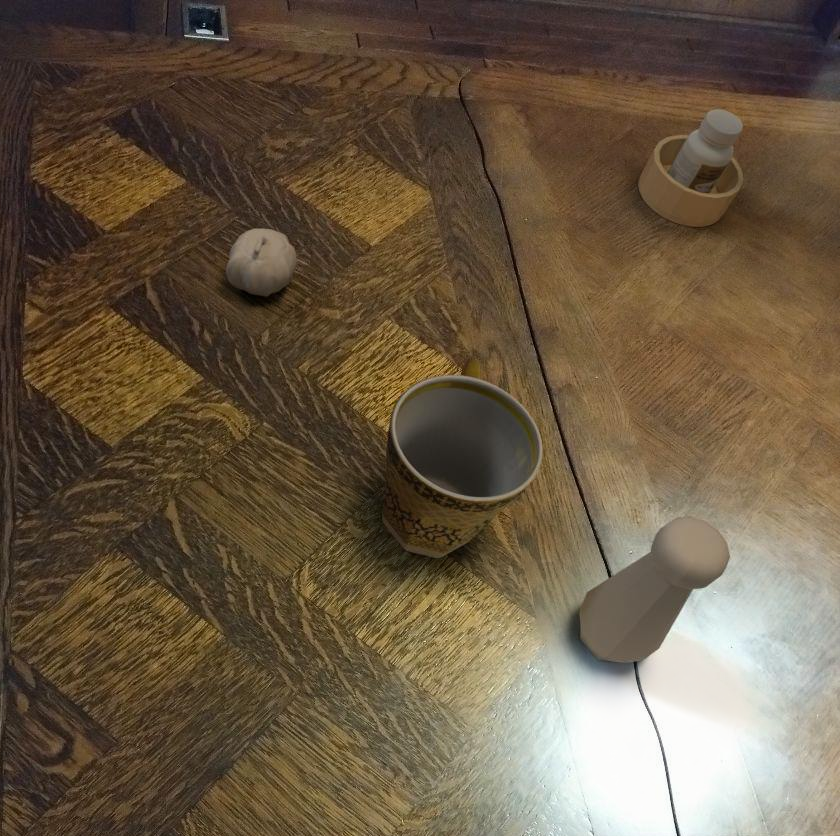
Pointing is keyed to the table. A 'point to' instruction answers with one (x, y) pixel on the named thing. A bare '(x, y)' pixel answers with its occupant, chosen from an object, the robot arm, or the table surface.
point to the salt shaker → (652, 591)
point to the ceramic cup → (455, 460)
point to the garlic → (261, 262)
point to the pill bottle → (707, 151)
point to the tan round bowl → (685, 188)
